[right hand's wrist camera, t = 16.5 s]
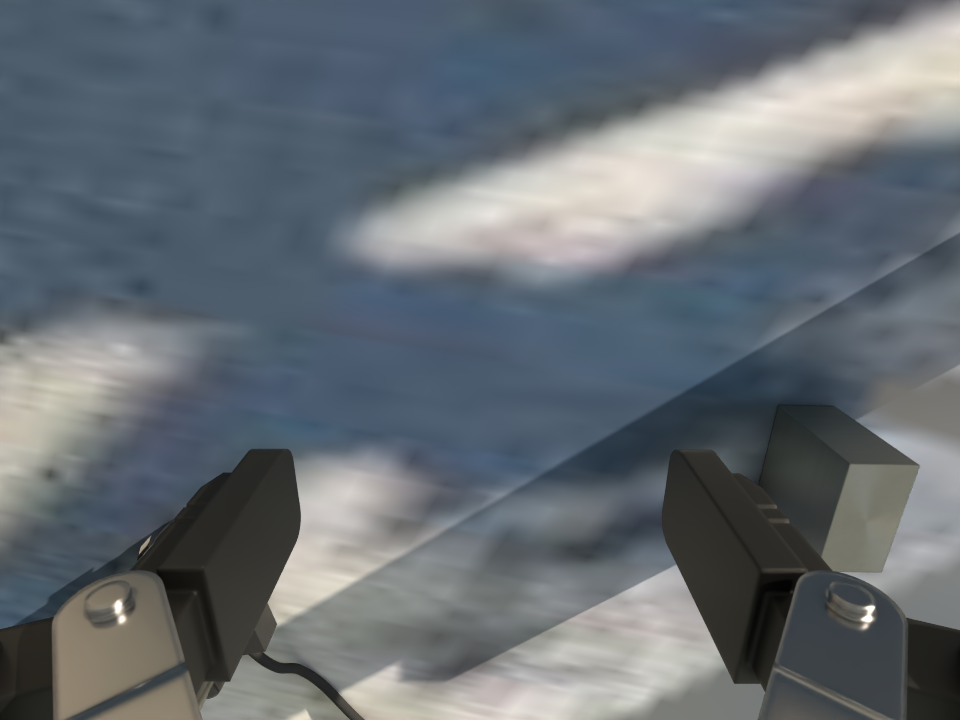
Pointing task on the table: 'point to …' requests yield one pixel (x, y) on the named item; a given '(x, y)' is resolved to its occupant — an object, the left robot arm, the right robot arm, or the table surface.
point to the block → (837, 485)
